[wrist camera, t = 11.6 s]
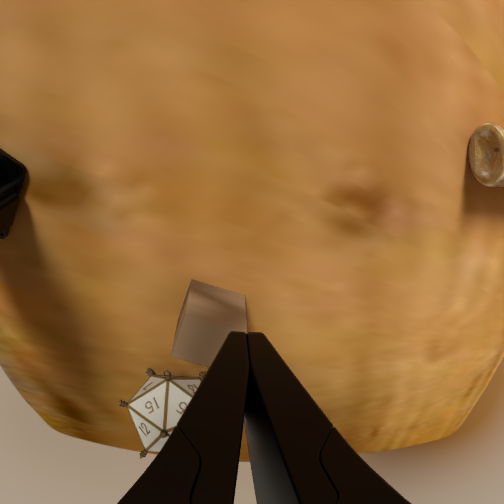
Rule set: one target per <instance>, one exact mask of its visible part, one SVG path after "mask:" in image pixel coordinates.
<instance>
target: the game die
mask: <svg viewBox="0 0 504 504" xmlns="http://www.w3.org/2000/svg"><path fill="white" fill-rule="evenodd" d="M146 373H148V375H149V376H150V377H149V379H148V380H147V381H146V382H145V383H144V384H143V385H142V387H141V388H140V389H139V390H138V391H137V392H136V393H135V395H134V396H133V397H132V398H131V399H130V400H129V401H128V403H126V402H125V401H122V400H121V401H118V402H117V403H118V404H119V405H120V406H123V407H124V406H126V407H127V409H128V412H129V414H130V417H131V419H132V422H133V424H134V427H135V429H136V431H137V434H138V436H139V438H140V441H141V443H142V445H143V447H144V450H143V451H141V453H140V458H143V457H145V456H146V455H147V452H154V453H159V452H160V450H161V449H162V447H163V446H164V444H165V442H166V441H167V439H168V438H169V436H170V434H171V433H172V431H173V429H174V428H175V427H176V426H177V423H178V421H179V419H180V418H181V416H182V414H183V412H184V411H185V409H186V407H187V406H188V404H189V402H190V400H191V399H192V397H193V395H194V393H195V392H196V390H197V388H198V386H199V385H200V383H201V381H202V379H203V378H204V376H205V374H206V371H204V372H201V374H199V377H198V378H192V377H174V376H171V373H170V372H169V371H168V370H166V372H165V373H164V376H160V375H153V372H152V370H151V369H149V368H147V372H146Z"/></svg>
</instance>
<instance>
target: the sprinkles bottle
mask: <svg viewBox="0 0 504 504" xmlns="http://www.w3.org/2000/svg"><path fill="white" fill-rule="evenodd" d="M469 162H470V166H471V170H472V172H473V174H474V176H475V178H476V179H477V180H478V181H479V182H480V183H481V184H483V185H484V186H488V187H496V186H499V187H504V128H501V127H500V126H499V125H497V124H494V123H484V124H482V125H481V126H479V127H478V128H476V129H475V131H474V133H473V134H472V136H471V140H470V144H469Z"/></svg>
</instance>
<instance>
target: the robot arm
mask: <svg viewBox="0 0 504 504" xmlns="http://www.w3.org/2000/svg"><path fill="white" fill-rule="evenodd" d="M18 169H20V173H19V171H18ZM25 174H26V168H25V166H24V165H23V164H22V163H20V162H19V161H18V160H16V159H15V158H13V157H12V156H10V155H9V154H7V153H6V152H4V151H3V150H2V149H0V238H1V239H4V238H5V237H7V236H8V233H9V229H10V226H11V225H12V224H13V220H14V216H15V213H16V209H17V206H18V202H19V199H20V198H19V193H20V189H21V186H22V183H23V180H24V177H25ZM243 423H245V430H246V437H247V443H248V450H249V457H250V463H251V470H252V476H253V482H254V489H255V495H256V501H257V504H411V503H410V502H409V501H407V500H406V499H405V498H404V497H403V496H401V495H400V494H399V493H398V492H397V491H396V490H395V489H394V488H393V487H391V486H390V485H389V484H388V483H387V482H386V481H385V480H384V479H383V478H382V477H380V476H379V475H378V474H377V473H376V472H375V471H374V470H373V469H372V468H371V467H370V466H369V465H368V464H367V463H366V462H365V461H364V460H363V459H362V458H361V457H360V456H359V455H358V454H357V453H356V452H355V451H354V450H353V448H352V447H351V446H350V445H349V444H348V443H347V441H346V440H345V439H344V438H343V437H342V435H341V434H340V433H339V432H338V430H337V429H336V428H335V427H333V424H332V423H331V422H330V420H329V419H328V418H327V416H326V415H325V414H324V413H323V411H322V410H321V409H320V408H319V406H318V405H317V404H316V402H315V401H314V400H313V399H312V397H311V396H310V395H309V393H308V392H307V391H306V389H305V388H304V387H303V386H302V384H301V383H300V382H299V380H298V379H297V378H296V376H295V375H294V374H293V372H292V371H291V370H290V368H289V367H288V366H287V364H286V363H285V362H284V360H283V359H282V358H281V356H280V355H279V354H278V352H277V351H276V350H275V348H274V347H273V346H272V344H271V343H270V342H269V340H268V339H267V338H266V336H265V335H264V334H263V333H261V332H248V333H247V334H246V333H245V332H241V331H231V332H229V334H228V335H227V337H226V339H225V341H224V343H223V344H222V346H221V348H220V350H219V351H218V353H217V355H216V357H215V358H214V360H213V362H212V364H211V365H210V367H209V369H208V371H207V372H206V374H205V376H204V378H203V379H202V381H201V383H200V385H199V386H198V388H197V390H196V392H195V393H194V395H193V397H192V399H191V400H190V402H189V404H188V406H187V407H186V409H185V411H184V412H183V414H182V416H181V418H180V419H179V421H178V423H177V426H176V427H175V428H174V429H173V431H172V433H171V434H170V436H169V438H168V439H167V441H166V442H165V444H164V446H163V447H162V449H161V450H160V452H159V453H158V455H157V456H156V458H155V459H154V460H153V462H152V463H151V464H150V466H149V467H148V468H147V469H146V471H145V472H144V473H143V474H142V475H141V477H140V478H139V479H138V480H137V481H136V483H135V484H134V485H133V486H132V487H131V488H130V490H129V491H128V492H127V493H126V494H125V495H124V497H123V498H122V499H121V500H120V501H119V502H118V503H117V504H234V496H235V488H236V480H237V472H238V464H239V456H240V448H241V440H242V432H243Z"/></svg>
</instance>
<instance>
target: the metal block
mask: <svg viewBox="0 0 504 504" xmlns="http://www.w3.org/2000/svg"><path fill="white" fill-rule="evenodd" d="M231 331H241V332H245V333H247V319H246V303H245V295H242V294H239V293H235V292H232V291H228V290H225V289H222V288H218V287H215V286H212V285H208V284H205V283H202V282H199V281H195V280H191V283H190V285H189V288H188V291H187V294H186V297H185V300H184V303H183V306H182V309H181V312H180V315H179V318H178V322H177V327H176V332H175V338H174V343H173V348H172V354H171V357H174V358H177V359H181V360H185V361H189V362H192V363H196V364H200V365H204V366H208V367H210V365H211V364H212V362H213V360H214V358H215V357H216V355H217V353H218V351H219V350H220V348H221V346H222V344H223V343H224V341H225V339H226V337H227V335H228V334H229V332H231Z"/></svg>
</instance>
